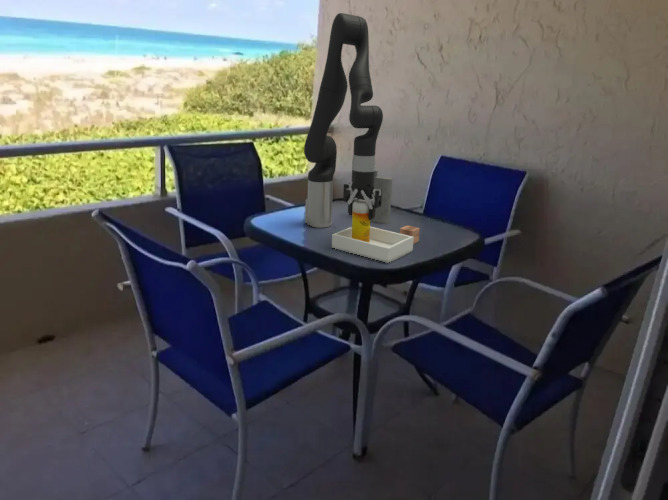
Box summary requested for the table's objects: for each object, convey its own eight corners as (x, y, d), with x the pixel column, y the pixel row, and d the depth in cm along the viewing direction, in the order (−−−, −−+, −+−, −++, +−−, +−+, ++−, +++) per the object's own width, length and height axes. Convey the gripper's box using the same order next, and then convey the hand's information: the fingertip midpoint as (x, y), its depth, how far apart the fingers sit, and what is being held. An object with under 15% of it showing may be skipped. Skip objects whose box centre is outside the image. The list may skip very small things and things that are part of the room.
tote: (331, 248, 194) (332, 234, 193) (358, 237, 207) (359, 223, 205) (387, 263, 182) (388, 248, 181) (412, 251, 194) (413, 236, 193)
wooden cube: (399, 242, 203) (400, 228, 202) (406, 238, 207) (407, 225, 206) (411, 245, 201) (412, 231, 199) (418, 241, 204) (419, 228, 203)
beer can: (367, 247, 194) (369, 204, 189) (349, 246, 195) (351, 202, 190) (370, 242, 199) (372, 199, 194) (353, 240, 200) (354, 198, 195)
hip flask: (391, 222, 226) (394, 171, 219) (385, 224, 223) (388, 173, 216) (357, 214, 234) (359, 165, 228) (351, 216, 231) (353, 167, 225)
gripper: (339, 167, 189) (337, 215, 195) (376, 173, 182) (373, 223, 187) (352, 163, 195) (350, 211, 201) (388, 170, 187) (385, 218, 193)
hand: (361, 217), depth 194 cm, fingers open, 7 cm apart
